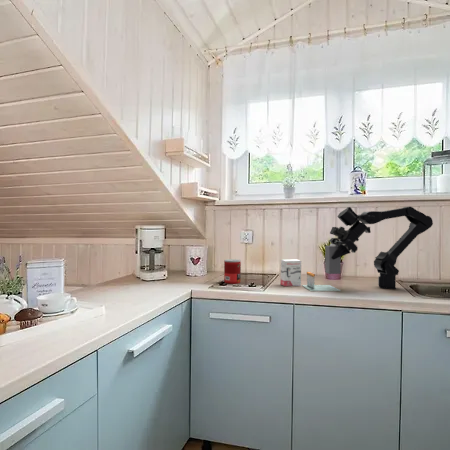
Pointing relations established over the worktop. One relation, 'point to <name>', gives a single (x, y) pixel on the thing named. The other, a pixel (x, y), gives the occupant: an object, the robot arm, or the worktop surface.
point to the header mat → (322, 288)
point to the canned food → (232, 271)
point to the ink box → (290, 272)
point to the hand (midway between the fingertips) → (329, 258)
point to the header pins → (310, 280)
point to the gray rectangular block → (331, 264)
